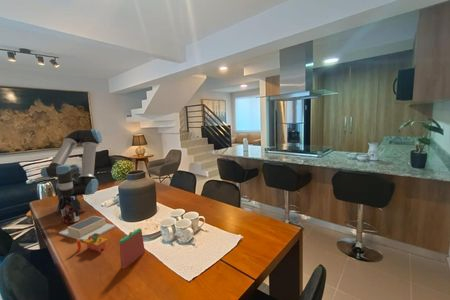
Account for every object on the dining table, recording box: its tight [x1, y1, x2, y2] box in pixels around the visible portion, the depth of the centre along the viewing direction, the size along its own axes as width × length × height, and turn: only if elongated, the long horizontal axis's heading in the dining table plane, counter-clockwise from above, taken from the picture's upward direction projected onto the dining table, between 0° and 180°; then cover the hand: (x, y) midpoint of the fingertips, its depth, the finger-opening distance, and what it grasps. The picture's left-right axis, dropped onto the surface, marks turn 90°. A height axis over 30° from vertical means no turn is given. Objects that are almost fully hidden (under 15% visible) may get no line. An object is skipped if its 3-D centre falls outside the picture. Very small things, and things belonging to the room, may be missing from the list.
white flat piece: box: [58, 215, 117, 242], centre depth 129 cm, size 18×26×5 cm
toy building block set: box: [76, 227, 146, 270], centre depth 105 cm, size 12×35×14 cm, turn 67°
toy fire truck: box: [61, 205, 75, 225], centre depth 141 cm, size 7×12×10 cm, turn 56°
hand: (71, 219), depth 142 cm, fingers closed on toy fire truck, 12 cm apart
